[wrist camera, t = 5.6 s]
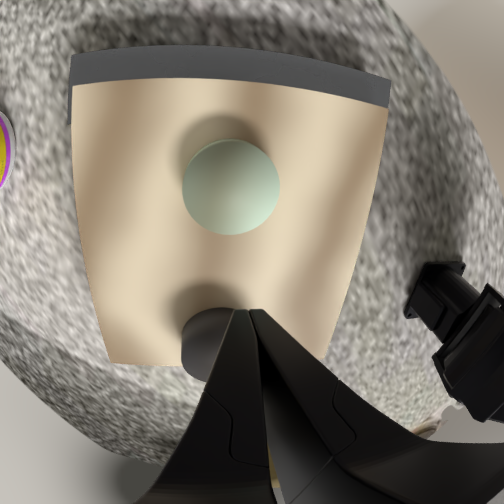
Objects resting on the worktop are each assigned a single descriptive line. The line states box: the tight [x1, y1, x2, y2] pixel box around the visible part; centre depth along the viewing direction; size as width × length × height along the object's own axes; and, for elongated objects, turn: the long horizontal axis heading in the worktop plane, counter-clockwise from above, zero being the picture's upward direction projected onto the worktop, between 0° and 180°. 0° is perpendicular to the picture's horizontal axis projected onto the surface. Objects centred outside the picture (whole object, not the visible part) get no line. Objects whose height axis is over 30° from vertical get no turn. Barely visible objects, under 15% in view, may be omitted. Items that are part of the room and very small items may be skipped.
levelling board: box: [71, 78, 389, 382], centre depth 16 cm, size 16×18×4 cm
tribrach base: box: [68, 45, 391, 124], centre depth 18 cm, size 18×20×3 cm
